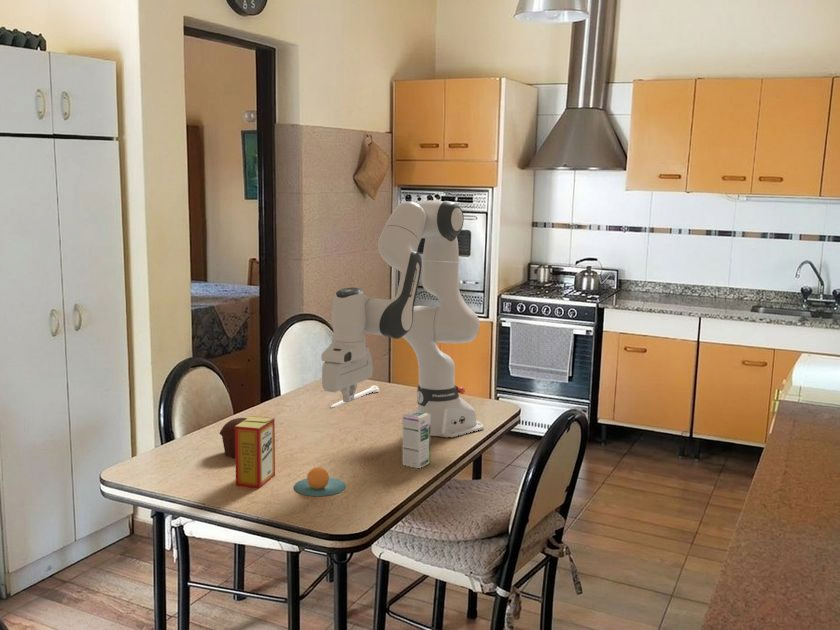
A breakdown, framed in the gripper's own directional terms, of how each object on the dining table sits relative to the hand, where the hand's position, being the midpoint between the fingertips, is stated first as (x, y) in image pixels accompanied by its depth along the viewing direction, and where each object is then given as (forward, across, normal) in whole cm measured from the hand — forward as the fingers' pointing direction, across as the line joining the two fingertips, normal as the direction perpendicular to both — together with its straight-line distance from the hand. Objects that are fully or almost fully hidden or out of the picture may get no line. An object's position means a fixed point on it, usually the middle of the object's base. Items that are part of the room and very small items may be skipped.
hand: (348, 401), depth 218 cm
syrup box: (+19, -13, +14) cm, 27 cm away
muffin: (+19, +3, -33) cm, 39 cm away
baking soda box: (+19, +18, -17) cm, 31 cm away
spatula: (+20, -63, -35) cm, 75 cm away
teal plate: (+19, +14, 0) cm, 24 cm away
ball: (+16, +15, 0) cm, 22 cm away
